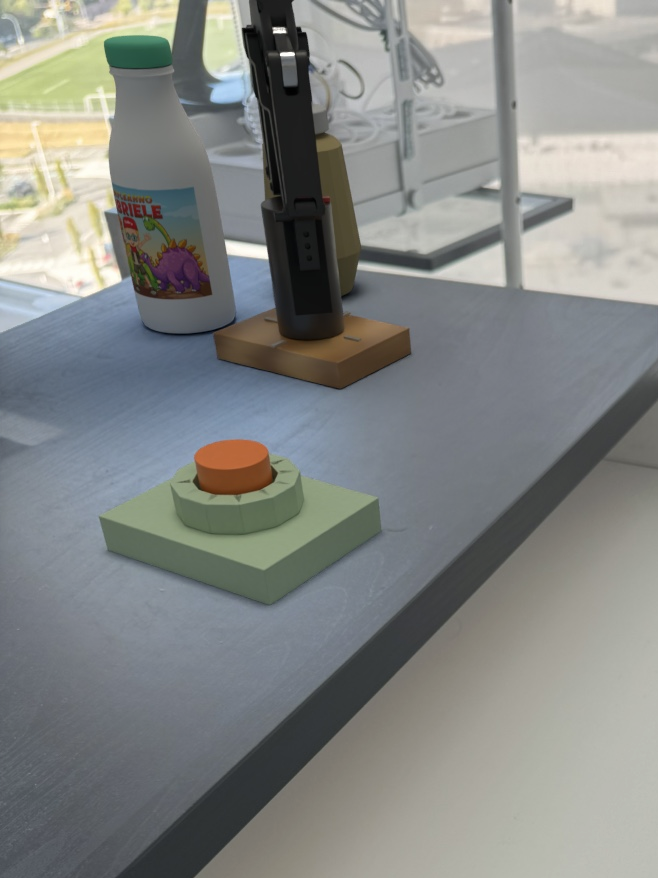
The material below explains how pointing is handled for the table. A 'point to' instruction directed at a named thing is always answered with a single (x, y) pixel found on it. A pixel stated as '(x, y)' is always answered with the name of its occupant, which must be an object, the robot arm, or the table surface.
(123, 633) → the table surface
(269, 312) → the panel
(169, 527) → the green button base
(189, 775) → the table surface
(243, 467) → the push button
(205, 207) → the milk bottle
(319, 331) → the knob
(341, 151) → the squeeze bottle
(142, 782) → the table surface
